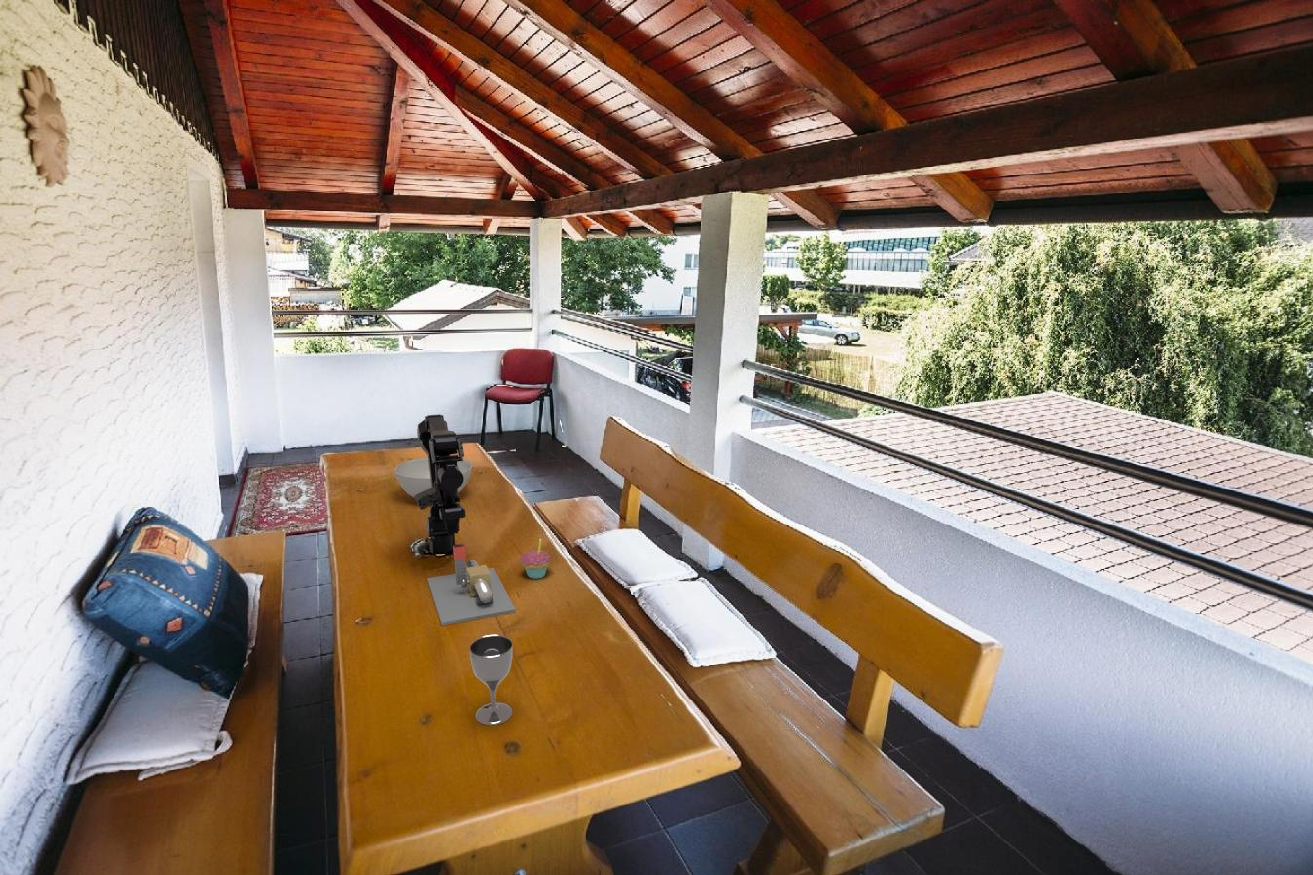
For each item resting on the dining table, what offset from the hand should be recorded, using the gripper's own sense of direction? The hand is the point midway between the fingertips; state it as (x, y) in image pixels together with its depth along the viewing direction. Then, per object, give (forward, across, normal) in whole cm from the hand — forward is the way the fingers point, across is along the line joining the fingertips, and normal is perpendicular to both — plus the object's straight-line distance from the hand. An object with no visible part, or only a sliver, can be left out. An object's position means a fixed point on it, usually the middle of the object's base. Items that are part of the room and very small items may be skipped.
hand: (449, 532), depth 200 cm
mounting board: (+12, +16, +2) cm, 20 cm away
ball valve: (+12, +16, +4) cm, 20 cm away
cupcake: (+12, +10, +21) cm, 27 cm away
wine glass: (+12, +68, -3) cm, 69 cm away
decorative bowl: (+12, -64, +5) cm, 65 cm away
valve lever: (+9, +16, 0) cm, 18 cm away
